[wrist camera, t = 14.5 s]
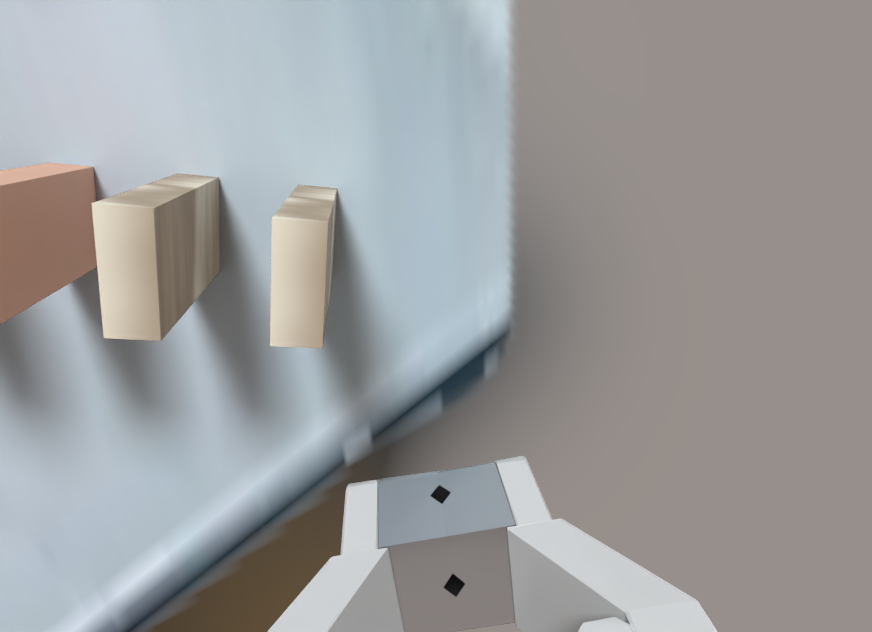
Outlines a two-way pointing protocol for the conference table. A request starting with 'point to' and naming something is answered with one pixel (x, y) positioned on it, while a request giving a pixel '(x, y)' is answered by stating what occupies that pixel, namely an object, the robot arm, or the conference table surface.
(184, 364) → the conference table surface
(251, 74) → the conference table surface
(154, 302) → the domino
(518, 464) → the robot arm
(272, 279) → the end domino
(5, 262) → the domino
